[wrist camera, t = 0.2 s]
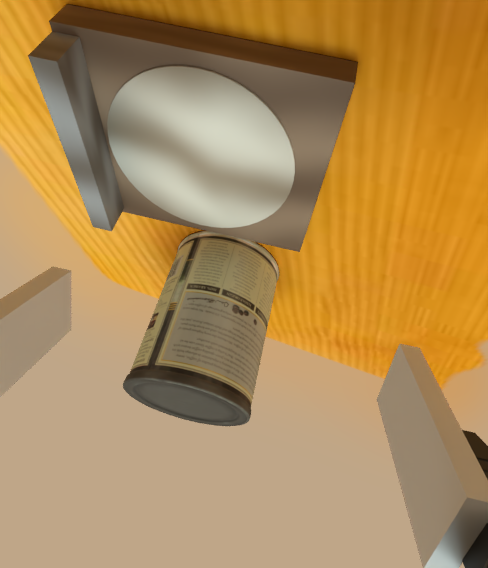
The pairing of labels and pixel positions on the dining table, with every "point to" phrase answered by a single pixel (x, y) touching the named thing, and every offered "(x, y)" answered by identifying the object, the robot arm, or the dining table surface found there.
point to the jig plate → (192, 123)
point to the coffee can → (207, 331)
